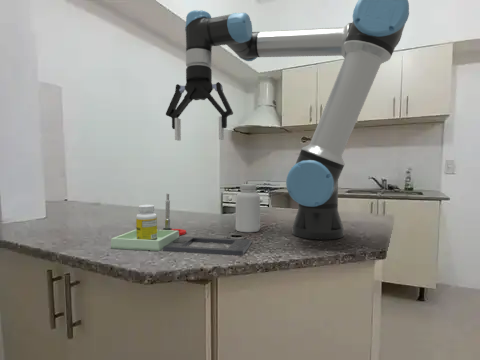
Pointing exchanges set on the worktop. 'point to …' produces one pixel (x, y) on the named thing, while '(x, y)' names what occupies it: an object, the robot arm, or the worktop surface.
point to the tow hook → (167, 219)
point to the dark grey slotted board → (235, 249)
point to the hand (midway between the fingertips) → (199, 139)
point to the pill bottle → (247, 209)
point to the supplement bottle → (146, 223)
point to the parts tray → (144, 241)
